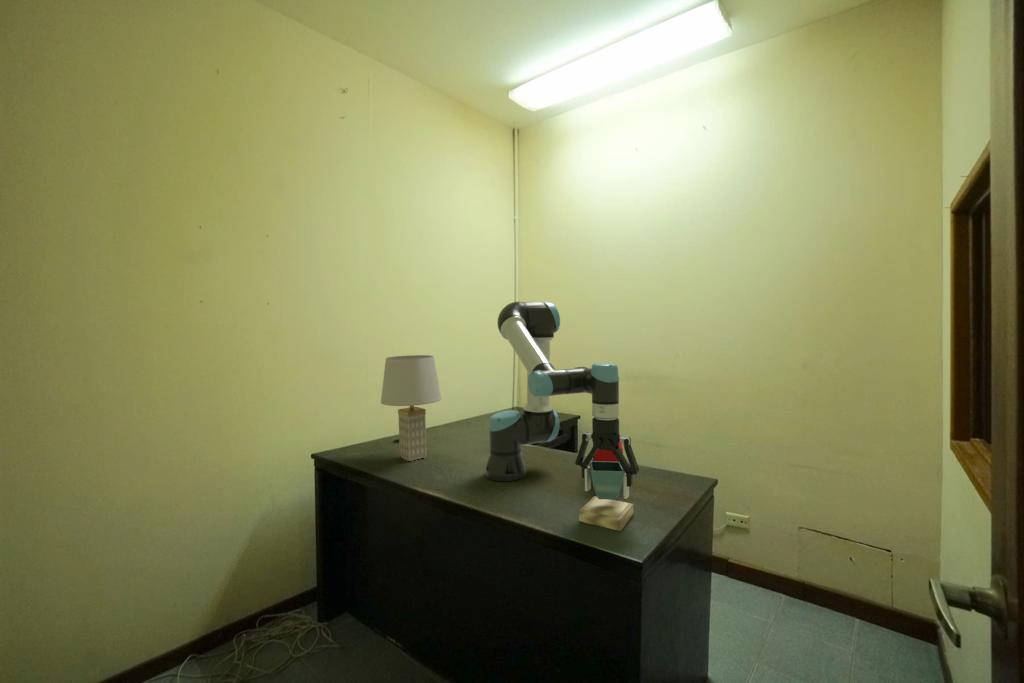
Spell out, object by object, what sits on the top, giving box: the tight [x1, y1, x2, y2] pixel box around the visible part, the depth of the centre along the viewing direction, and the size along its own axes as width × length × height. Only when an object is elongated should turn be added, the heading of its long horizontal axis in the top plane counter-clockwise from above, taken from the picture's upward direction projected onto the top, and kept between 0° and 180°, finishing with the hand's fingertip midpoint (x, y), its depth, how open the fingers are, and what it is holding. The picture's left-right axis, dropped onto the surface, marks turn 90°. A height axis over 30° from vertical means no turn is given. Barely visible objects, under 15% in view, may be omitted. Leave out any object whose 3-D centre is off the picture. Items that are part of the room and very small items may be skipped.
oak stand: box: [578, 495, 635, 532], centre depth 124 cm, size 12×12×3 cm
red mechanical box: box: [591, 439, 624, 462], centre depth 153 cm, size 16×10×20 cm, turn 168°
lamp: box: [380, 354, 442, 460], centre depth 183 cm, size 25×25×44 cm
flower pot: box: [589, 460, 625, 500], centre depth 123 cm, size 9×9×9 cm
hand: (606, 493), depth 123 cm, fingers closed on flower pot, 11 cm apart
